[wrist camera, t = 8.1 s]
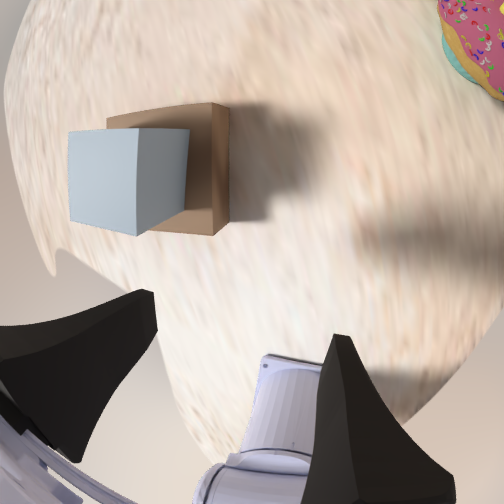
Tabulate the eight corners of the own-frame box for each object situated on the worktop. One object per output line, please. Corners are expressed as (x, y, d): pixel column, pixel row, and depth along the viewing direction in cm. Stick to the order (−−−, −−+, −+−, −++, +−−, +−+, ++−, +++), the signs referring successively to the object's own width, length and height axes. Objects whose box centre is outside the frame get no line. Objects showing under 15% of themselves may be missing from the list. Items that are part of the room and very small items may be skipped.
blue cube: (184, 210, 17) (136, 236, 13) (122, 200, 18) (70, 220, 14) (190, 129, 15) (138, 128, 11) (124, 128, 16) (68, 131, 12)
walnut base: (230, 220, 20) (213, 236, 17) (139, 214, 22) (113, 227, 19) (231, 108, 17) (212, 102, 14) (135, 118, 19) (106, 118, 16)
